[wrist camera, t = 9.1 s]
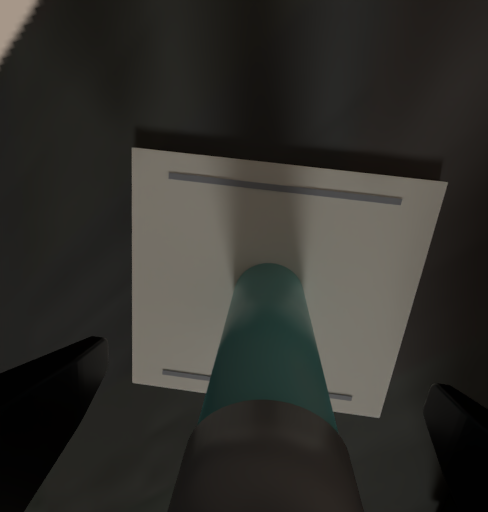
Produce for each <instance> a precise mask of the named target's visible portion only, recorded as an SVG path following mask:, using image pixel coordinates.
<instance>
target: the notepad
mask: <svg viewBox="0 0 488 512" xmlns="http://www.w3.org/2000/svg"><path fill="white" fill-rule="evenodd" d="M447 184H448V182H442V181H434V180H425V179H416V178H407V177H398V176H389V175H379V174H370V173H361V172H352V171H343V170H334V169H325V168H316V167H307V166H298V165H289V164H280V163H271V162H262V161H253V160H243V159H234V158H225V157H216V156H207V155H198V154H189V153H180V152H171V151H162V150H153V149H144V148H132V383H138V384H145V385H152V386H159V387H166V388H173V389H180V390H187V391H194V392H201V393H206V392H207V388H208V384H209V381H210V377H211V373H212V370H213V366H214V362H215V359H216V355H217V351H218V348H219V344H220V340H221V337H222V333H223V329H224V325H225V322H226V318H227V314H228V311H229V307H230V303H231V300H232V296H233V292H234V289H235V285H236V283H237V281H238V279H239V277H240V276H241V275H242V274H243V273H244V272H245V271H246V270H248V269H249V268H251V267H253V266H255V265H258V264H263V263H274V264H279V265H282V266H284V267H286V268H288V269H290V270H291V271H292V272H293V273H294V274H295V275H296V276H297V277H298V278H299V280H300V282H301V284H302V287H303V290H304V295H305V299H306V303H307V307H308V311H309V315H310V319H311V323H312V327H313V332H314V336H315V340H316V344H317V348H318V352H319V356H320V360H321V365H322V369H323V373H324V377H325V381H326V385H327V389H328V393H329V397H330V402H331V406H332V410H333V411H334V412H341V413H348V414H355V415H362V416H369V417H376V418H379V417H380V414H381V411H382V407H383V404H384V400H385V397H386V393H387V390H388V387H389V383H390V380H391V376H392V373H393V369H394V366H395V363H396V359H397V356H398V352H399V349H400V345H401V342H402V339H403V335H404V332H405V328H406V325H407V321H408V318H409V315H410V311H411V308H412V304H413V301H414V297H415V294H416V291H417V287H418V284H419V280H420V277H421V273H422V270H423V267H424V263H425V260H426V256H427V253H428V249H429V246H430V243H431V239H432V236H433V232H434V229H435V225H436V222H437V219H438V215H439V212H440V208H441V205H442V201H443V198H444V195H445V191H446V188H447Z"/></svg>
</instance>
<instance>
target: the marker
mask: <svg viewBox="0 0 488 512" xmlns="http://www.w3.org/2000/svg"><path fill="white" fill-rule="evenodd" d="M168 512H364V510H363V506H362V503H361V499H360V495H359V491H358V487H357V483H356V480H355V476H354V472H353V468H352V464H351V460H350V457H349V453H348V451H347V448H346V445H345V444H344V442H343V440H342V438H341V437H340V435H339V434H338V430H337V426H336V422H335V418H334V414H333V410H332V406H331V402H330V397H329V393H328V389H327V385H326V381H325V377H324V373H323V369H322V365H321V360H320V356H319V352H318V348H317V344H316V340H315V336H314V332H313V327H312V323H311V319H310V315H309V311H308V307H307V303H306V299H305V295H304V290H303V287H302V284H301V282H300V280H299V278H298V277H297V276H296V275H295V274H294V273H293V272H292V271H291V270H290V269H288V268H286V267H284V266H282V265H279V264H274V263H263V264H258V265H255V266H253V267H251V268H249V269H248V270H246V271H245V272H244V273H243V274H242V275H241V276H240V277H239V279H238V281H237V283H236V285H235V289H234V292H233V296H232V300H231V303H230V307H229V311H228V314H227V318H226V322H225V325H224V329H223V333H222V337H221V340H220V344H219V348H218V351H217V355H216V359H215V362H214V366H213V370H212V373H211V377H210V381H209V384H208V388H207V392H206V396H205V399H204V403H203V407H202V410H201V414H200V418H199V421H198V425H197V427H196V428H195V429H194V431H193V432H192V434H191V436H190V438H189V440H188V443H187V446H186V449H185V453H184V456H183V460H182V463H181V467H180V470H179V474H178V477H177V481H176V484H175V487H174V491H173V494H172V498H171V501H170V505H169V508H168Z"/></svg>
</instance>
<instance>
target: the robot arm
mask: <svg viewBox="0 0 488 512" xmlns="http://www.w3.org/2000/svg"><path fill="white" fill-rule="evenodd" d="M107 369H108V341H107V339H106V338H102V337H95V336H91V337H89V338H86V339H84V340H81V341H79V342H76V343H74V344H71V345H69V346H67V347H64V348H62V349H59V350H57V351H54V352H52V353H49V354H47V355H44V356H42V357H39V358H37V359H35V360H32V361H30V362H27V363H25V364H22V365H20V366H17V367H15V368H12V369H10V370H8V371H5V372H3V373H0V512H24V511H25V509H26V508H27V506H28V504H29V503H30V501H31V500H32V498H33V497H34V495H35V493H36V492H37V490H38V489H39V487H40V486H41V484H42V483H43V481H44V479H45V478H46V476H47V475H48V473H49V472H50V470H51V468H52V467H53V465H54V464H55V462H56V461H57V459H58V457H59V456H60V454H61V453H62V451H63V450H64V448H65V446H66V445H67V443H68V442H69V440H70V439H71V437H72V435H73V434H74V432H75V431H76V429H77V427H78V426H79V424H80V423H81V421H82V419H83V417H84V415H85V413H86V411H87V409H88V407H89V405H90V403H91V401H92V399H93V397H94V395H95V393H96V391H97V389H98V387H99V386H100V384H101V382H102V380H103V378H104V376H105V374H106V371H107ZM423 415H424V419H425V422H426V425H427V428H428V431H429V434H430V437H431V440H432V443H433V446H434V449H435V452H436V455H437V458H438V461H439V464H440V467H441V469H442V472H443V475H444V477H445V480H446V482H447V484H448V487H449V489H450V492H449V494H448V496H447V499H446V501H445V504H444V506H443V509H442V511H441V512H488V409H486V408H485V407H483V406H482V405H480V404H479V403H477V402H475V401H474V400H472V399H471V398H469V397H468V396H466V395H465V394H463V393H461V392H460V391H458V390H457V389H455V388H454V387H452V386H450V385H445V384H438V383H435V384H432V386H431V387H430V390H429V393H428V396H427V398H426V401H425V404H424V408H423Z"/></svg>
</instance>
